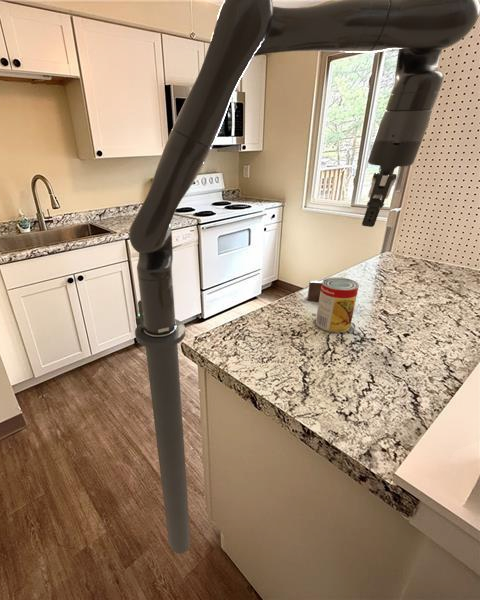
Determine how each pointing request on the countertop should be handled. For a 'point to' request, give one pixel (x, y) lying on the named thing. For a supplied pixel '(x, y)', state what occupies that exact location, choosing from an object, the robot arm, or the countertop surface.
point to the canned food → (336, 304)
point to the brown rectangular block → (314, 290)
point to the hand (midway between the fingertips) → (368, 220)
